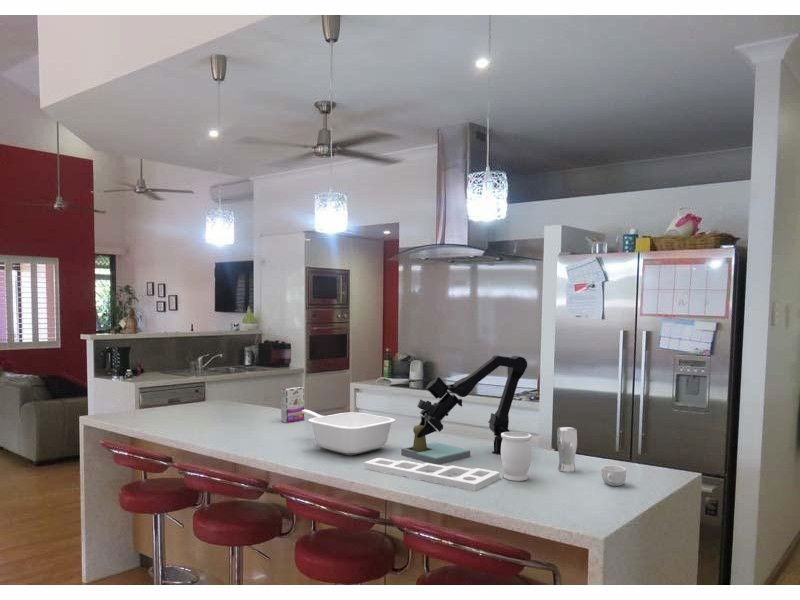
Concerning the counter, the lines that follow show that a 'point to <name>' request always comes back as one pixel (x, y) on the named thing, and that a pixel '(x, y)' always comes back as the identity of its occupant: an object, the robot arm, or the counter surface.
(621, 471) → the teacup
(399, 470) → the holder
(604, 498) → the counter surface
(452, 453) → the teal gray square board
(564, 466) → the beer glass
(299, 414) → the candy bar box
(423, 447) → the brown waisted cylinder
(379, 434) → the pot
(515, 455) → the jar
